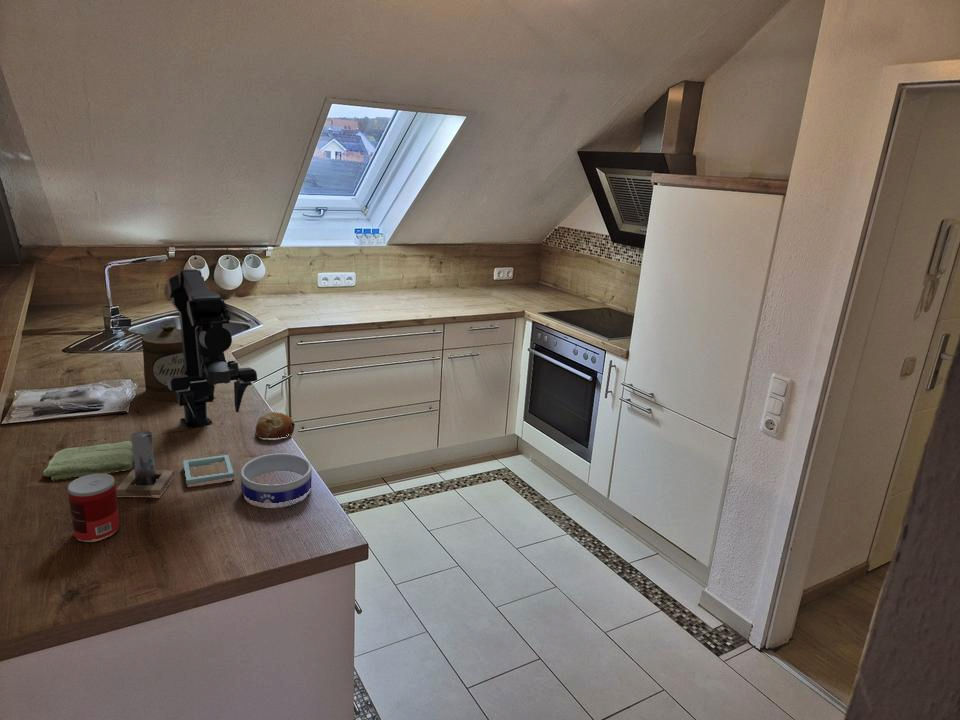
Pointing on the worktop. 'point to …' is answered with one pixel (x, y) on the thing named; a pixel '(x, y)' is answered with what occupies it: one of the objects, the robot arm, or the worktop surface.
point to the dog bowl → (276, 491)
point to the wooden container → (162, 361)
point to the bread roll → (274, 425)
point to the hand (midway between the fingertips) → (216, 415)
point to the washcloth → (90, 460)
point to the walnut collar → (144, 490)
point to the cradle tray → (207, 462)
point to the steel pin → (143, 458)
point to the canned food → (93, 506)
